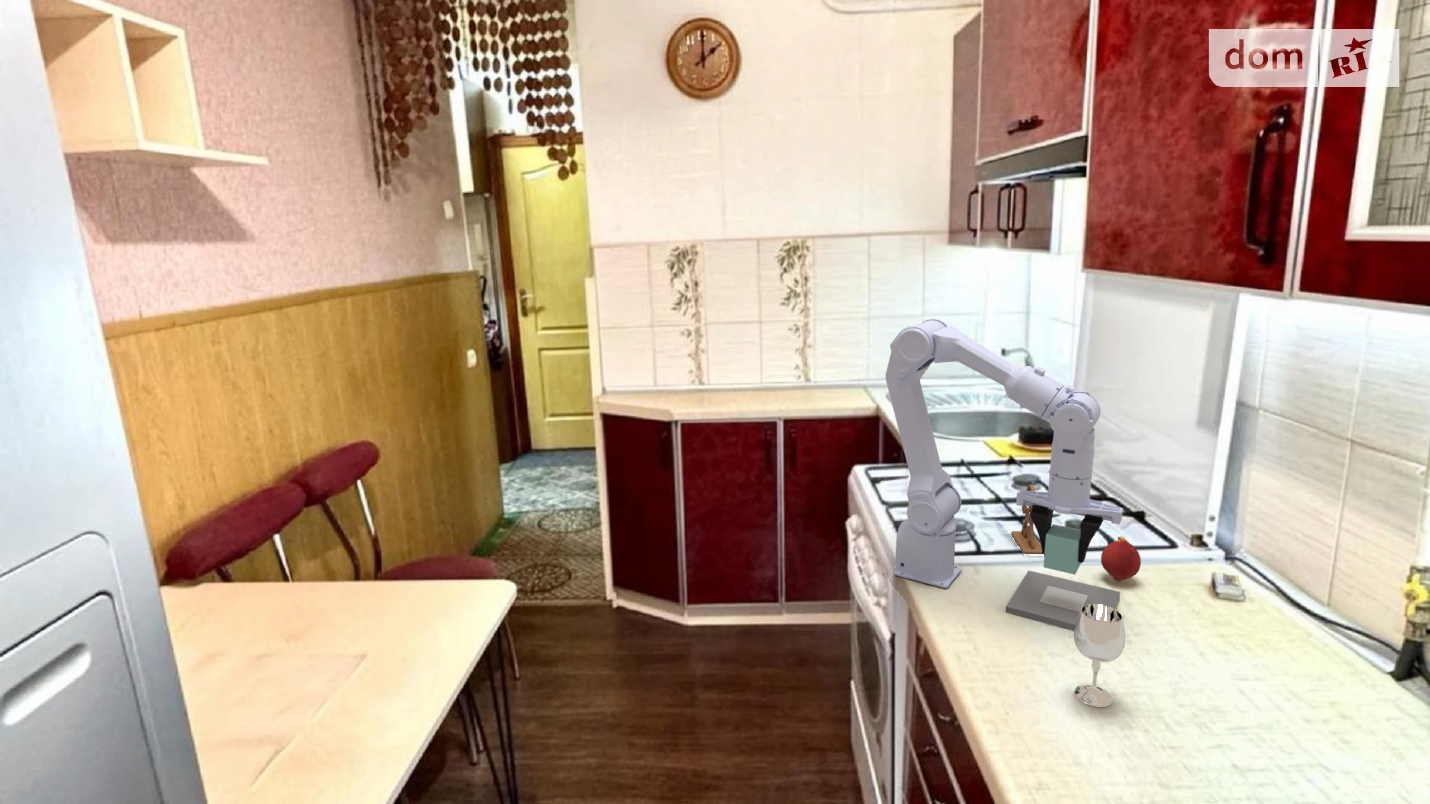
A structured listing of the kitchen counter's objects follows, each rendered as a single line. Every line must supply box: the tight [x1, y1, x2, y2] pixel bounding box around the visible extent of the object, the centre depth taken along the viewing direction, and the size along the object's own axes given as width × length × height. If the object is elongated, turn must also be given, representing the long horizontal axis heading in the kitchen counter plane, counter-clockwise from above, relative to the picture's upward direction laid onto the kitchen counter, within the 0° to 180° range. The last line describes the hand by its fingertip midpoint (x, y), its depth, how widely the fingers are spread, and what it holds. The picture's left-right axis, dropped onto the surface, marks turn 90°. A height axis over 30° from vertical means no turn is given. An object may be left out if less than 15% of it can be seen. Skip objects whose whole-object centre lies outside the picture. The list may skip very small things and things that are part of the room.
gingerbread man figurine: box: [1010, 484, 1042, 554], centre depth 137 cm, size 9×4×12 cm, turn 173°
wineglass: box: [1073, 604, 1126, 708], centre depth 94 cm, size 6×6×12 cm
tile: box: [1005, 570, 1121, 631], centre depth 117 cm, size 14×14×1 cm
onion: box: [1100, 536, 1142, 582], centre depth 123 cm, size 6×6×8 cm
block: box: [1043, 524, 1082, 576], centre depth 114 cm, size 4×4×6 cm
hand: (1063, 556), depth 115 cm, fingers closed on block, 4 cm apart
